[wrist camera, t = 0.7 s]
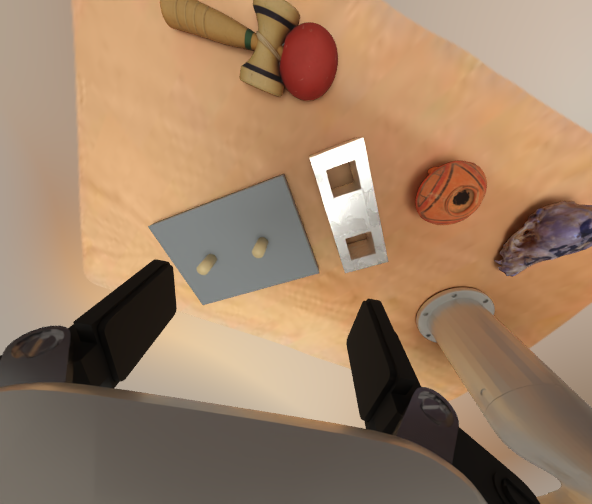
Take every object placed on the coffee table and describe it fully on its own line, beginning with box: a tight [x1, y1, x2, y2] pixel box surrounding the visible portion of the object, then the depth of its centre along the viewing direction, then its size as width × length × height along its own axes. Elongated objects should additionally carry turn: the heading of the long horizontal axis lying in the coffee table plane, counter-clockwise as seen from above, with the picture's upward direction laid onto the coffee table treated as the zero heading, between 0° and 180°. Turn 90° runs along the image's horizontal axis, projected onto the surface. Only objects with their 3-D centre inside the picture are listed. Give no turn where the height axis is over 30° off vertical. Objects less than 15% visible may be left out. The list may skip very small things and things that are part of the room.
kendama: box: [160, 0, 338, 100], centre depth 22 cm, size 8×6×18 cm
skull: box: [494, 201, 592, 276], centre depth 30 cm, size 12×8×6 cm, turn 149°
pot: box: [415, 161, 487, 225], centre depth 28 cm, size 8×8×7 cm
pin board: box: [148, 174, 319, 305], centre depth 33 cm, size 16×22×5 cm
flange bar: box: [309, 138, 388, 273], centre depth 29 cm, size 16×6×5 cm, turn 20°
